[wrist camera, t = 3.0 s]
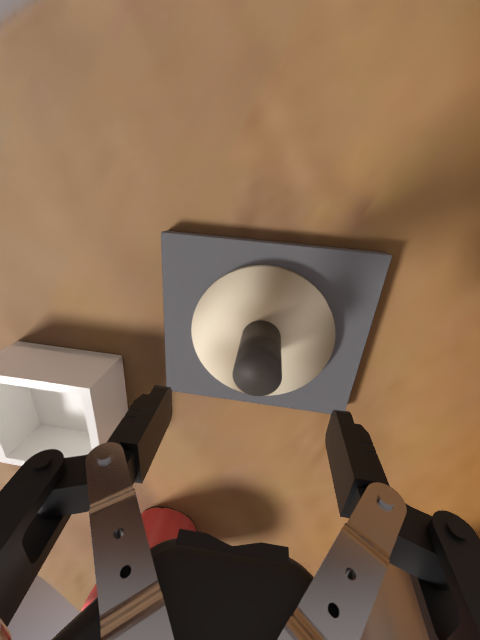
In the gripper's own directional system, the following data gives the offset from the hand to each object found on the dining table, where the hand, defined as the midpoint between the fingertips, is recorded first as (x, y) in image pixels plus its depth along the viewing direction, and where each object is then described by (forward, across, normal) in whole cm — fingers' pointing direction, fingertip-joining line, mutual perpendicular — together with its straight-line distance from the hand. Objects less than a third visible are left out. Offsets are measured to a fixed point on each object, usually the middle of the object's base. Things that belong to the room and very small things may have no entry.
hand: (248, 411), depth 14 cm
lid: (+9, 0, 0) cm, 9 cm away
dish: (+10, +18, +10) cm, 23 cm away
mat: (+10, 0, 0) cm, 10 cm away
